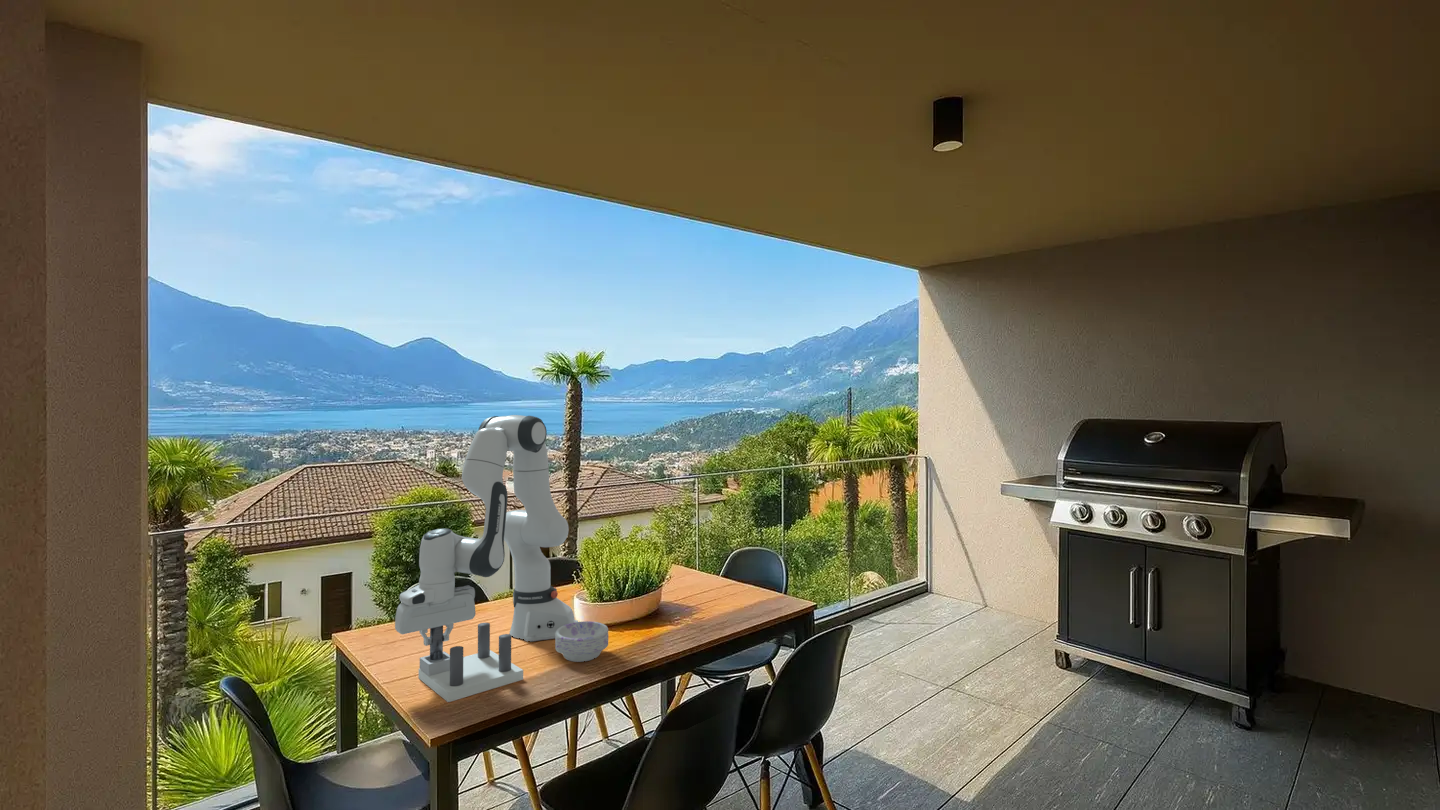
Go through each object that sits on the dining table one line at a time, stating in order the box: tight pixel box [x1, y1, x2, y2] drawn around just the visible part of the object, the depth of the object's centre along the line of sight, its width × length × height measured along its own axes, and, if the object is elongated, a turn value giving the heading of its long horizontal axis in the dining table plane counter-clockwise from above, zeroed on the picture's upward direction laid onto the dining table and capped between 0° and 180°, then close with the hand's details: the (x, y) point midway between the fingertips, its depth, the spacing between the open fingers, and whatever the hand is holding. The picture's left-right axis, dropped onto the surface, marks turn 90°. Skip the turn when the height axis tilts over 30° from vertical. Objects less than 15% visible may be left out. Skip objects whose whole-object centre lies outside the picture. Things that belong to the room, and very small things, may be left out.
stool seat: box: [418, 622, 524, 703], centre depth 177 cm, size 20×20×12 cm
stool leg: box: [429, 626, 444, 660], centre depth 177 cm, size 3×3×9 cm
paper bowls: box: [554, 620, 609, 663], centre depth 193 cm, size 15×15×8 cm
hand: (436, 642), depth 177 cm, fingers closed on stool leg, 3 cm apart
